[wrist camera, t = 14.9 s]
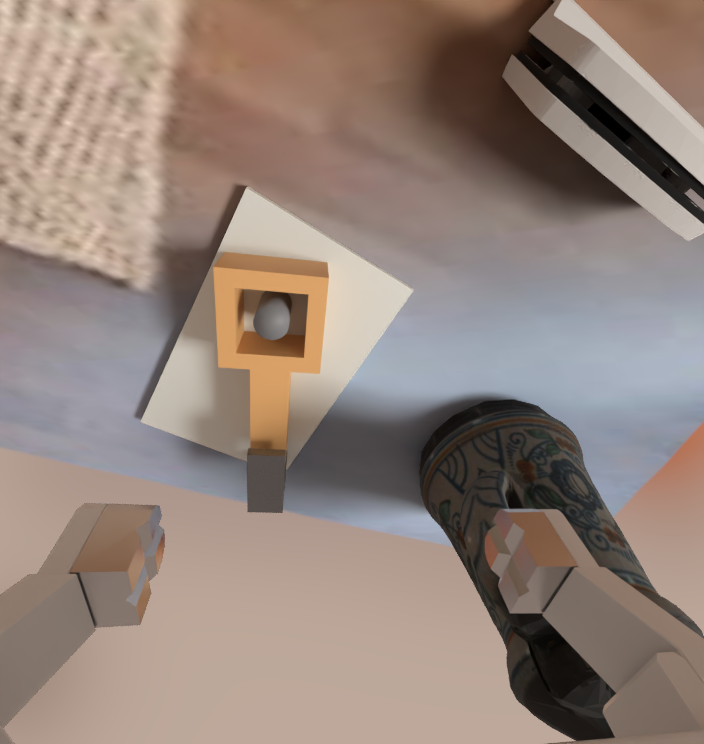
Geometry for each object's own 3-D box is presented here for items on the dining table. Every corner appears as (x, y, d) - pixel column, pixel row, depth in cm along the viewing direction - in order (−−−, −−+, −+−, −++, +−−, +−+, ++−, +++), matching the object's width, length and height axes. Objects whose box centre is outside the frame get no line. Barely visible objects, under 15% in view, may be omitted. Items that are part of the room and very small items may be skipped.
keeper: (257, 404, 37) (247, 455, 32) (289, 406, 38) (285, 456, 32) (257, 457, 41) (247, 511, 35) (287, 458, 41) (282, 512, 35)
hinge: (714, 142, 29) (807, 204, 22) (649, 197, 32) (714, 266, 26) (552, -16, 24) (610, 2, 17) (494, 68, 27) (524, 111, 20)
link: (225, 251, 29) (213, 266, 26) (327, 262, 30) (328, 277, 27) (231, 437, 38) (223, 466, 35) (311, 440, 39) (310, 469, 36)
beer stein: (512, 520, 49) (666, 817, 28) (367, 490, 44) (415, 819, 23) (595, 417, 42) (895, 713, 20) (431, 368, 37) (593, 686, 15)
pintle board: (143, 416, 37) (121, 453, 33) (248, 186, 28) (235, 194, 24) (283, 469, 42) (279, 507, 38) (411, 287, 33) (425, 309, 28)
